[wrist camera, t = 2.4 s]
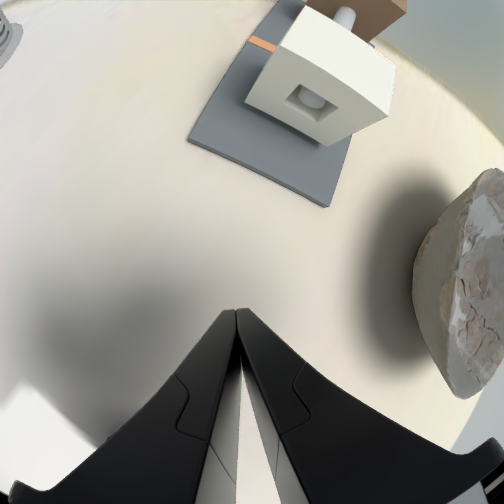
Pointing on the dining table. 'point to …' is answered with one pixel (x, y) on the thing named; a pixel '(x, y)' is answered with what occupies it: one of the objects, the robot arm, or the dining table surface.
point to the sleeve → (324, 80)
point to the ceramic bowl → (464, 286)
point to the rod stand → (276, 131)
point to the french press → (8, 38)
